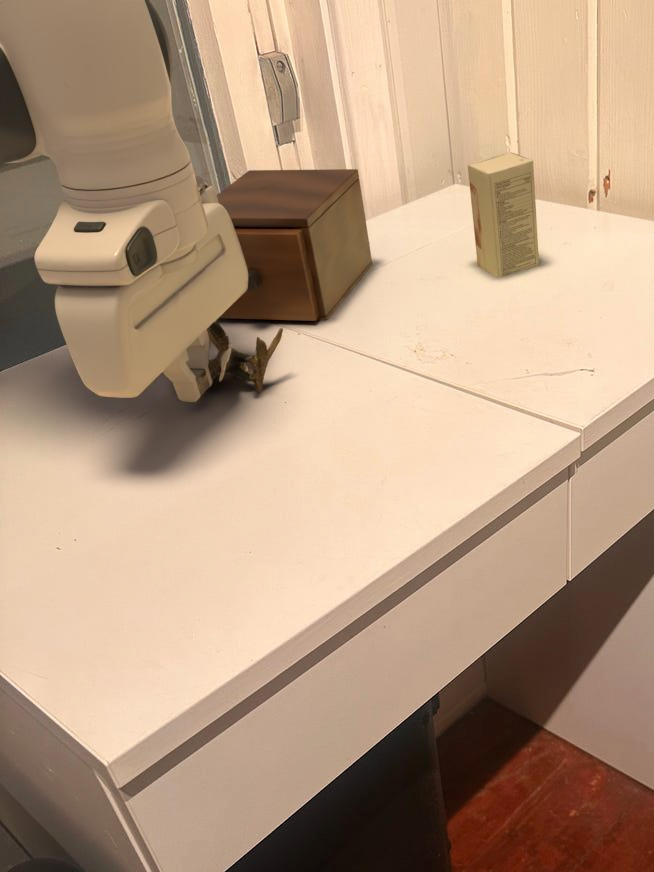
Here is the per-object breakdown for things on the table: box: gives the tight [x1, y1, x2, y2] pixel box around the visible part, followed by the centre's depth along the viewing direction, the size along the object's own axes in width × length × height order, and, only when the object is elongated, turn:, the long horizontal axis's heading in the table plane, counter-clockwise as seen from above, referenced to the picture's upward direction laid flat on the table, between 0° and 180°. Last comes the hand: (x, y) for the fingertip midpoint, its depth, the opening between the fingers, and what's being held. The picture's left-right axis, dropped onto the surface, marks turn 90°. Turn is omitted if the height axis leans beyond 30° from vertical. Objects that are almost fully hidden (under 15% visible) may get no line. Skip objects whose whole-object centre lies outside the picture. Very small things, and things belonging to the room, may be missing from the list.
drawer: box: [218, 227, 319, 322], centre depth 86 cm, size 14×10×8 cm
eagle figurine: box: [207, 321, 284, 394], centre depth 76 cm, size 8×7×9 cm
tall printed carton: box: [467, 151, 540, 278], centre depth 88 cm, size 5×4×10 cm
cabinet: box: [216, 168, 373, 321], centre depth 88 cm, size 14×12×10 cm
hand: (196, 393), depth 74 cm, fingers closed
